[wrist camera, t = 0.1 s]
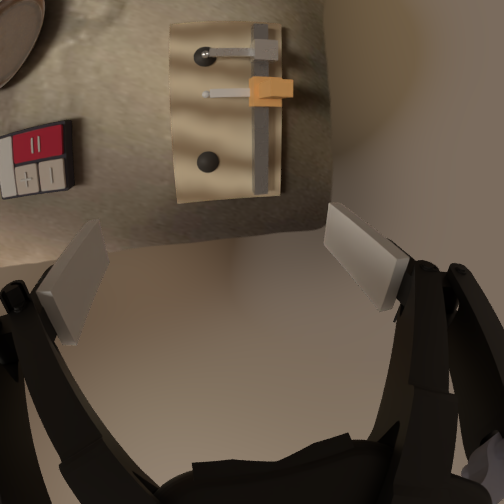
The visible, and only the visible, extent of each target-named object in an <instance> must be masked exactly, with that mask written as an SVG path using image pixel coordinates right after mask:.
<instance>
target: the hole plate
mask: <svg viewBox="0 0 504 504" xmlns="http://www.w3.org/2000/svg"><path fill="white" fill-rule="evenodd" d="M254 23H257V24H268V40H278V61H276V62H275V63H273V64H269V77H281V78H282V39H281V24H276V23H265V22H248V21H206V22H189V23H178V24H170V40H169V83H170V114H171V133H172V149H173V162H174V174H175V184H176V194H177V204H179V203H189V202H199V201H210V200H222V199H235V198H249V197H265V196H280V184H281V138H282V107H269V151H268V194H262V195H254V193H253V192H252V107H249V97H221V98H210V95H209V97H208V98H203V97H202V93H203V92H204V91H209V93H210V89H226V88H249V79H250V78H251V63H250V57H208V58H207V59H203V58H202V52H203V51H208V52H209V49H210V48H250V44H251V26H252V25H253V24H254Z"/></svg>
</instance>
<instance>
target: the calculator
mask: <svg viewBox="0 0 504 504" xmlns="http://www.w3.org/2000/svg"><path fill="white" fill-rule="evenodd" d="M74 185H75V180H74V168H73V152H72V121H71V120H64V121H59V122H54V123H49V124H45V125H40V126H36V127H32V128H28V129H24V130H21V131H17V132H14V133H10V134H7V135H4V136H0V188H1V195H2V199H3V200H5V199H11V198H17V197H23V196H29V195H36V194H43V193H50V192H58V191H66V190H69V189H70V188H71V187H73V186H74Z"/></svg>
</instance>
